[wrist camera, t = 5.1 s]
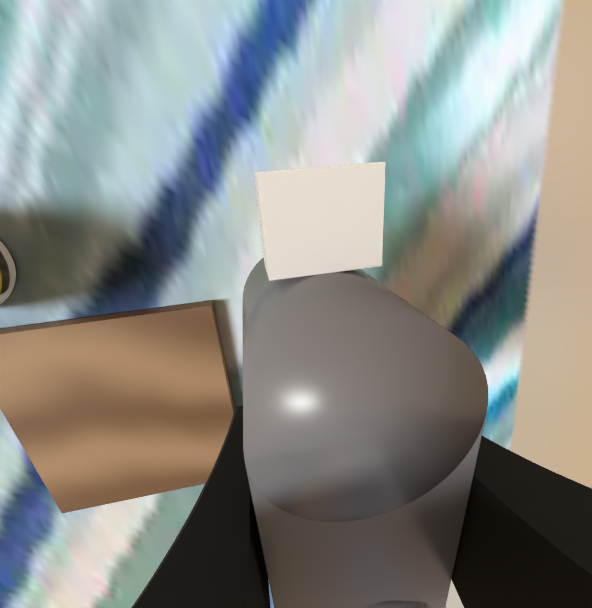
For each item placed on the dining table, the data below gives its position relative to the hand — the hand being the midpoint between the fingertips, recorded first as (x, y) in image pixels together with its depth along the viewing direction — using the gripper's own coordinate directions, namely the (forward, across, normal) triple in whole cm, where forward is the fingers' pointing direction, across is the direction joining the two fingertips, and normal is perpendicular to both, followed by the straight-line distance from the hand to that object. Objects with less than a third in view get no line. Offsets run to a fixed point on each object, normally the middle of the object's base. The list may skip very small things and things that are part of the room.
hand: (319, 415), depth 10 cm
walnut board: (+8, +10, +5) cm, 14 cm away
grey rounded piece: (+2, 0, 0) cm, 2 cm away
